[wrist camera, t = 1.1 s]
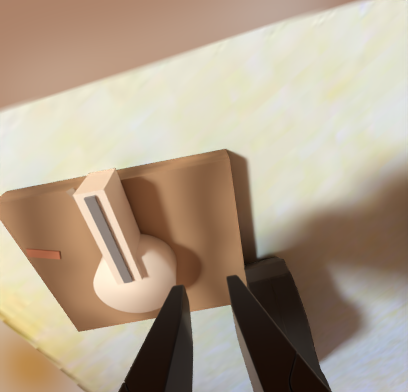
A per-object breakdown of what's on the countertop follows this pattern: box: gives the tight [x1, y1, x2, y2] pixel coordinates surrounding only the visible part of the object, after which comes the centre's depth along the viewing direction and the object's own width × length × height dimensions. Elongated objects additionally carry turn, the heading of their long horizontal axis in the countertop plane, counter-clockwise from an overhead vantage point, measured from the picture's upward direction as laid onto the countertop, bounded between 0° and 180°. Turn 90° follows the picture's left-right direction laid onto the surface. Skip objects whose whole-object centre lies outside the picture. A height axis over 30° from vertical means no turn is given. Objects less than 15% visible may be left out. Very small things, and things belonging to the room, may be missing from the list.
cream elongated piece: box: [73, 168, 177, 313], centre depth 19 cm, size 12×6×3 cm, turn 10°
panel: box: [0, 149, 247, 331], centre depth 23 cm, size 17×15×2 cm
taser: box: [244, 257, 332, 392], centre depth 26 cm, size 4×18×15 cm
